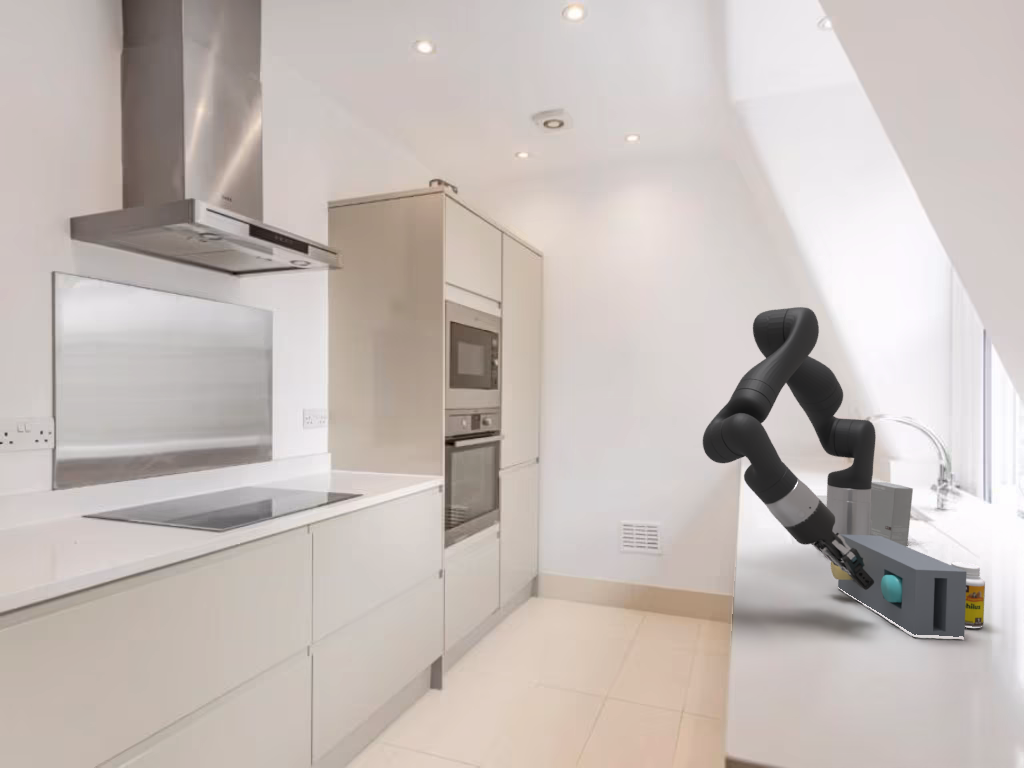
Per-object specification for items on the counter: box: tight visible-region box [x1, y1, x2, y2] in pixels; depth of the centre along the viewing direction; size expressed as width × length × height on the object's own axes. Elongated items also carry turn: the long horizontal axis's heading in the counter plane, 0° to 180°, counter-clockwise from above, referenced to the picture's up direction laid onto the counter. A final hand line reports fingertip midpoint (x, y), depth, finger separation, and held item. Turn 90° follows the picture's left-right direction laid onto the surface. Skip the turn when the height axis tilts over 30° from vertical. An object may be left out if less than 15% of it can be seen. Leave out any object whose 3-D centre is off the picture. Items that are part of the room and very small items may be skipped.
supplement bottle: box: [950, 561, 986, 627], centre depth 106 cm, size 6×6×10 cm
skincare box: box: [870, 481, 914, 547], centre depth 165 cm, size 8×7×16 cm
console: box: [837, 534, 966, 638], centre depth 111 cm, size 8×24×11 cm, turn 179°
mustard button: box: [830, 561, 853, 581], centre depth 117 cm, size 3×4×4 cm
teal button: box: [881, 575, 903, 603], centre depth 105 cm, size 3×4×4 cm
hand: (868, 585), depth 105 cm, fingers closed
